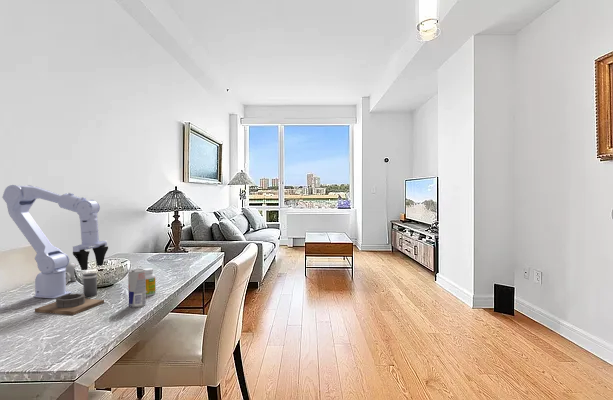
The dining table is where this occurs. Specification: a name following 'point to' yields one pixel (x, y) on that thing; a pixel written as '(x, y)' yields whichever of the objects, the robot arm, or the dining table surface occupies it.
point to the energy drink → (137, 288)
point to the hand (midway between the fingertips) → (92, 267)
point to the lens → (90, 284)
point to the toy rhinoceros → (70, 272)
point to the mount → (70, 304)
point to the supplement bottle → (150, 281)
